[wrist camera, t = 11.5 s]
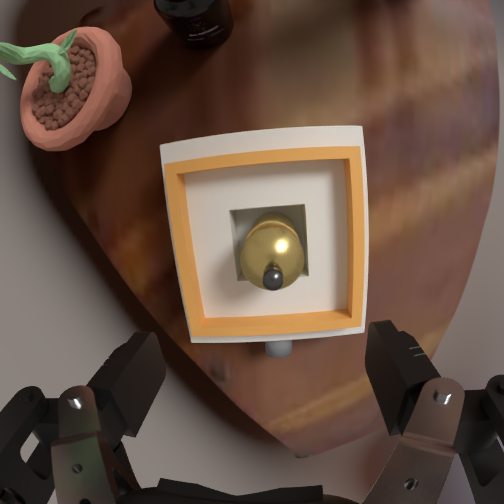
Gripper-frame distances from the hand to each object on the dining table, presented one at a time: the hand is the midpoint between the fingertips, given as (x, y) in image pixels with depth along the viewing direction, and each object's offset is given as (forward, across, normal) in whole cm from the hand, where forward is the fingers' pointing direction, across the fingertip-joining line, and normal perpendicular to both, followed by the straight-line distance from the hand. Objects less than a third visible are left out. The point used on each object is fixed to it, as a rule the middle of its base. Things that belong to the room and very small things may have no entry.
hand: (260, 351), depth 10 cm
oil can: (+20, 0, 0) cm, 20 cm away
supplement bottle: (+22, +5, -25) cm, 34 cm away
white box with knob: (+22, 0, +2) cm, 22 cm away
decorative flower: (+22, +19, -19) cm, 35 cm away
